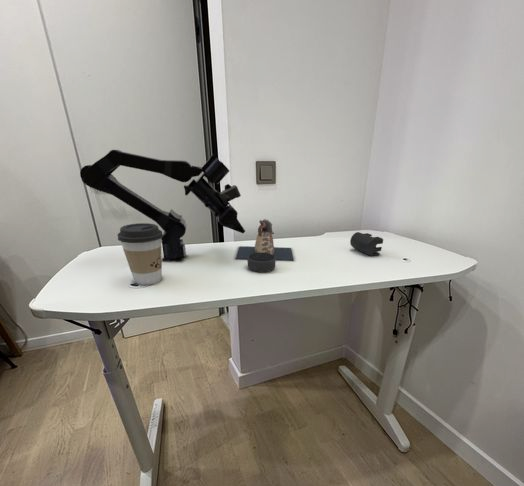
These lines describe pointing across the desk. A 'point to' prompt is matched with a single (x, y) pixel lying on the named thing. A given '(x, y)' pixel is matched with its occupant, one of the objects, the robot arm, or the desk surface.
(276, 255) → the mat
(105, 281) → the desk surface
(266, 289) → the desk surface
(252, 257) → the smart speaker
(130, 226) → the coffee cup
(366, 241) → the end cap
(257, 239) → the figurine
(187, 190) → the robot arm
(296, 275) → the desk surface
